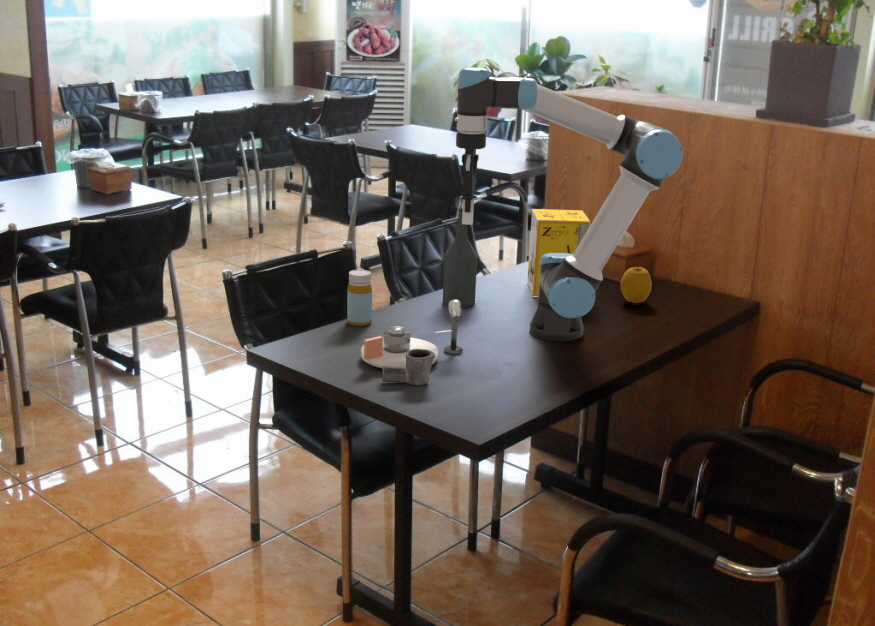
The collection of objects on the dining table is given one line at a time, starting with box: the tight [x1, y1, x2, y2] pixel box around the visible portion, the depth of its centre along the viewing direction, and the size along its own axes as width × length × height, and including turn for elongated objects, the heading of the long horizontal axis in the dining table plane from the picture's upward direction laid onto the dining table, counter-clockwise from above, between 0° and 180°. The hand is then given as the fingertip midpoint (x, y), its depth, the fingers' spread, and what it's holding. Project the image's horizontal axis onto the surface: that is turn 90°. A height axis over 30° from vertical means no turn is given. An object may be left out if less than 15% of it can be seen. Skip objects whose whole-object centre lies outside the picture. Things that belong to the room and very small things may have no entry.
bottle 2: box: [442, 207, 478, 310], centre depth 293 cm, size 10×10×30 cm
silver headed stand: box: [435, 300, 464, 356], centre depth 256 cm, size 8×5×14 cm, turn 118°
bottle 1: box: [346, 269, 373, 327], centre depth 276 cm, size 7×7×15 cm
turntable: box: [360, 335, 439, 369], centre depth 250 cm, size 21×20×6 cm
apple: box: [620, 266, 653, 304], centre depth 303 cm, size 10×10×12 cm
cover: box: [382, 325, 412, 353], centre depth 251 cm, size 7×7×6 cm
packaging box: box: [526, 208, 591, 297], centre depth 310 cm, size 16×16×25 cm
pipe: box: [381, 349, 435, 386], centre depth 236 cm, size 6×13×8 cm, turn 94°
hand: (467, 223), depth 250 cm, fingers closed
